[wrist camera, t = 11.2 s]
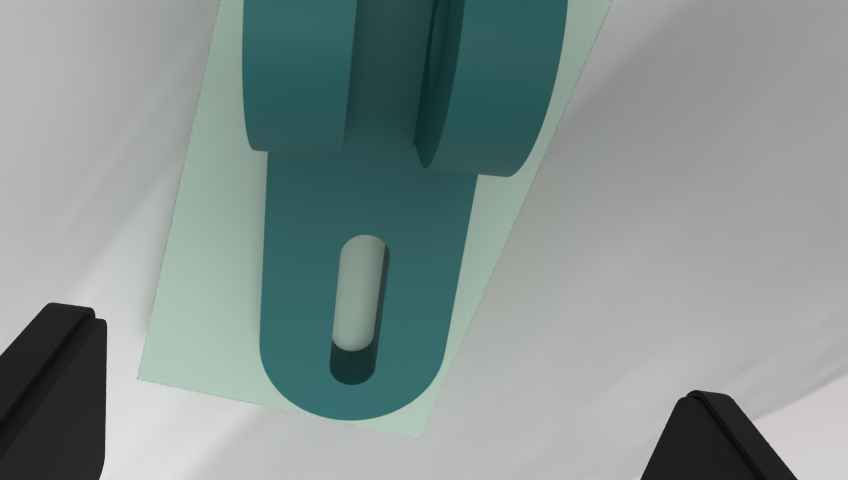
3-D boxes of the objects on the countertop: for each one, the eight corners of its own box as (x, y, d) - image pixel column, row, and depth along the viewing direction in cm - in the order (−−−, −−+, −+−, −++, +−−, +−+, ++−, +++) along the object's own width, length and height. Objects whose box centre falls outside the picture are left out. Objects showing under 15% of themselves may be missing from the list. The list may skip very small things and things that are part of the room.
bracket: (288, -118, 19) (247, -160, 12) (508, -81, 20) (595, -98, 13) (263, 379, 26) (229, 542, 19) (425, 388, 27) (451, 546, 20)
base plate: (605, -81, 24) (651, -87, 20) (411, 382, 32) (418, 438, 28) (290, -221, 21) (277, -257, 17) (163, 325, 29) (136, 379, 25)
